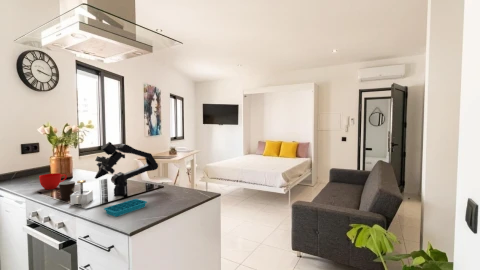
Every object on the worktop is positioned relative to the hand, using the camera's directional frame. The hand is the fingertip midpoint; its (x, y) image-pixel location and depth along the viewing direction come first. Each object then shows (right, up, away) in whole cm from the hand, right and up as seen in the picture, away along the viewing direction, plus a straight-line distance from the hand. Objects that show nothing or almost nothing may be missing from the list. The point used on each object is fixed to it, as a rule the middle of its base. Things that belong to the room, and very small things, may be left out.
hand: (95, 178), depth 154 cm
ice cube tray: (+28, -15, -17) cm, 36 cm away
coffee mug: (-20, -14, +5) cm, 25 cm away
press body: (-5, -14, -6) cm, 16 cm away
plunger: (-5, -9, -5) cm, 11 cm away
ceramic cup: (-48, -12, +28) cm, 57 cm away
